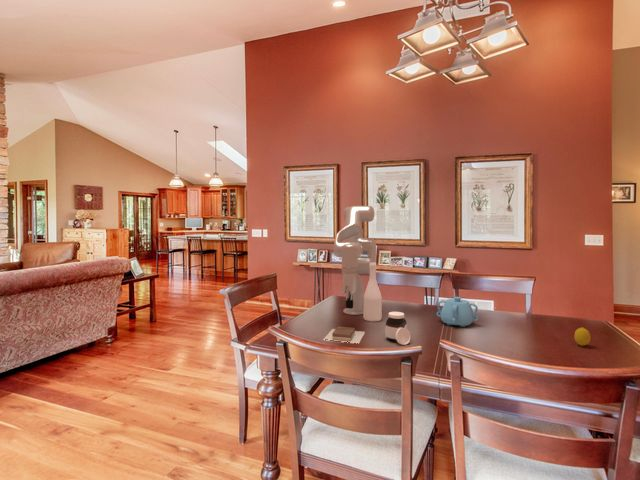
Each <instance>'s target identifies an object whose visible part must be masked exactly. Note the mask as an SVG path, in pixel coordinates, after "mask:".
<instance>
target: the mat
mask: <svg viewBox="0 0 640 480" xmlns="http://www.w3.org/2000/svg"><path fill="white" fill-rule="evenodd" d="M335 329H336V328H331V329H330V331H329V332H327V333H328V334H326V335H325V337H324V338H323V339H322V341H323V340H324V342H331V341H330V340H332V333H333V332H334V331H335ZM365 333H366V331H363V330H362V331H360V330H359V331H358V330H355V335H354V336H353V338H352V340H351V341H348V342H350V343H348V342H347V341H341V342H340V343H344V342H347V343H346V344H354V343H356V344H355V345H357V343H358V345H359V344H360V342H361V341H362V338H364V335H365ZM325 339H328V340H326V341H325ZM334 341H340V340H334Z"/></svg>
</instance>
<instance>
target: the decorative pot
mask: <svg viewBox="0 0 640 480" xmlns="http://www.w3.org/2000/svg"><path fill="white" fill-rule="evenodd" d="M461 298H462V297H460V296H454V297H453V298H448V299H446V300H443V299H441V300H440V301H438V302H437V308H438V311H437V312H436V316H437V317H439V318H441V321H442V323H445V324H446V326H459V327H461V328H466V327H467V326H470V325H471V324H472V323H473V321H474V322H477V321H479V316H478V315H477V313H478V309H479V307H478V305H477V304H475V303H473V302H469V301H468V300H466V299H461ZM441 303H442V304H443V303H444V304H443V306H442V308H441ZM472 307H474V308H475V310H474V311H473V308H472Z"/></svg>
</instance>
